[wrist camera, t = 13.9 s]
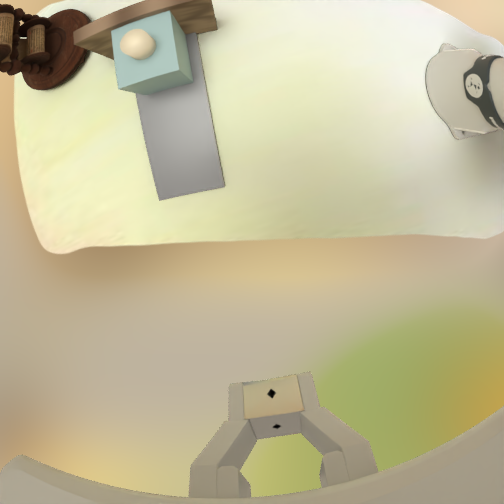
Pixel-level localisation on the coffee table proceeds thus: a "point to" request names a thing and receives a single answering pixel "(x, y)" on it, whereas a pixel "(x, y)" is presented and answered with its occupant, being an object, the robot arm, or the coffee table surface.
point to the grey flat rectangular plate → (181, 134)
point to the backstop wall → (179, 3)
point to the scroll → (40, 46)
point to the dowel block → (151, 55)
